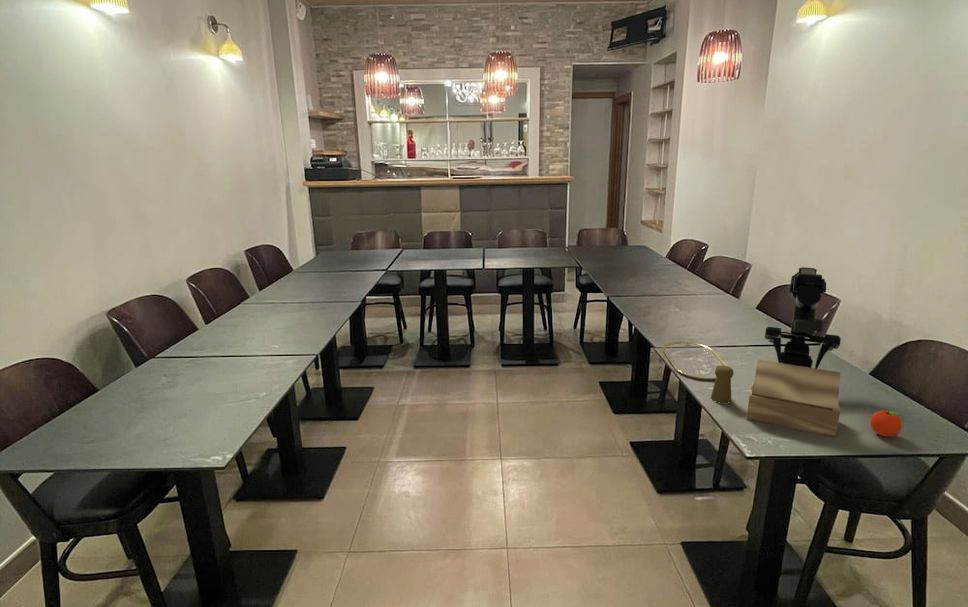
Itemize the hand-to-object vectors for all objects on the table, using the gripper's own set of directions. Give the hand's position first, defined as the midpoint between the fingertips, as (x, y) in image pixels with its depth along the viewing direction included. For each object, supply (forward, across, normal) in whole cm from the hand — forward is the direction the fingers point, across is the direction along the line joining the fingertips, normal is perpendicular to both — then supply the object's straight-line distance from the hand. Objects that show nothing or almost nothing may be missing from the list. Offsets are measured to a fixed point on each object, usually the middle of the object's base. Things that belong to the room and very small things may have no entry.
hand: (797, 366), depth 154 cm
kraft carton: (+15, 0, +5) cm, 16 cm away
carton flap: (+5, 0, -3) cm, 6 cm away
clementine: (+14, +23, +7) cm, 28 cm away
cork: (+13, -19, +8) cm, 25 cm away
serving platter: (-1, -31, +33) cm, 46 cm away
